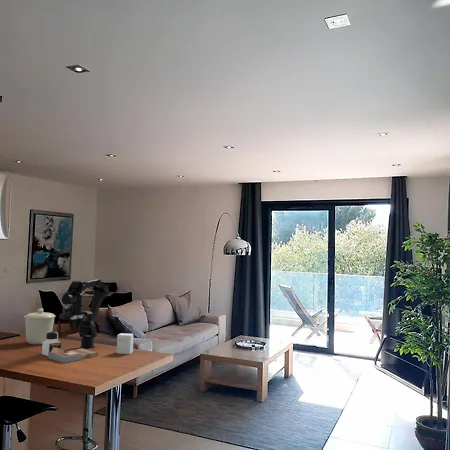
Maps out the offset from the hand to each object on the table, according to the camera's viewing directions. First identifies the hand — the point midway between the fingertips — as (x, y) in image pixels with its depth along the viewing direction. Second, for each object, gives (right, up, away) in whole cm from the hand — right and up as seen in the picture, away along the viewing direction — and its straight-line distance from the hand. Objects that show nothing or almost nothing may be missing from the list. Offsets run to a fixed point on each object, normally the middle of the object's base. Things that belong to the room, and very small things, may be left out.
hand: (75, 330), depth 248 cm
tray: (0, -11, -17) cm, 20 cm away
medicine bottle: (-11, -11, -8) cm, 18 cm away
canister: (-30, -13, +20) cm, 38 cm away
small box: (+28, -13, +1) cm, 31 cm away
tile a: (-3, -7, -16) cm, 17 cm away
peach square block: (+4, -11, -18) cm, 22 cm away
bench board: (+6, -12, -9) cm, 16 cm away
